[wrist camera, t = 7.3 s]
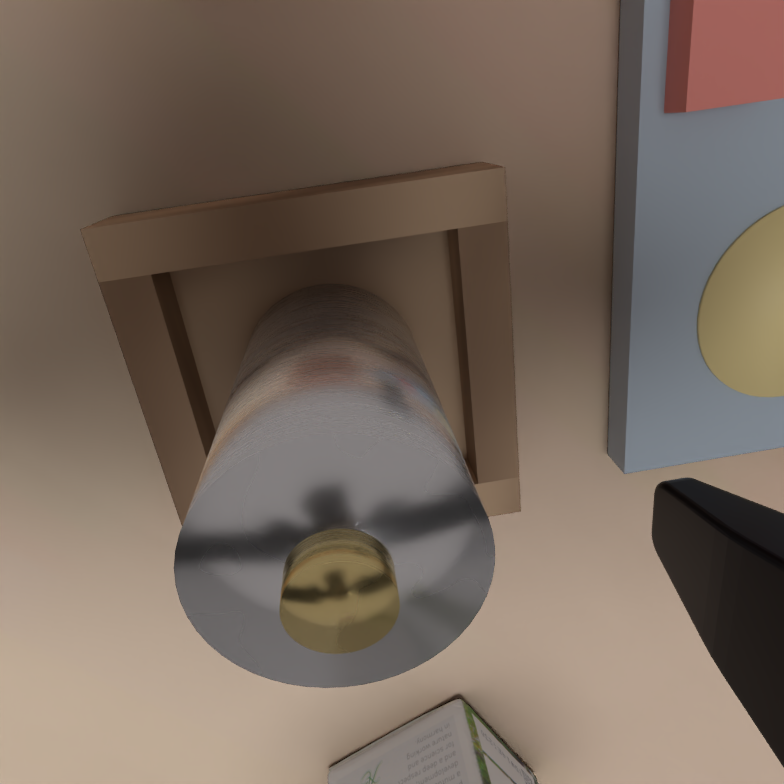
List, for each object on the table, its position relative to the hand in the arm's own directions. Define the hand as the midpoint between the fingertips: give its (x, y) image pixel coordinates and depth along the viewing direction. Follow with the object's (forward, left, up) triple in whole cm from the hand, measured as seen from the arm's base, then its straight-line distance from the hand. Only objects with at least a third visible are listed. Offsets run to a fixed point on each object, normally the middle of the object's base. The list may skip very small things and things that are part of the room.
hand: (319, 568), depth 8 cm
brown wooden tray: (0, 0, -7) cm, 7 cm away
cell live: (0, 0, -7) cm, 7 cm away
